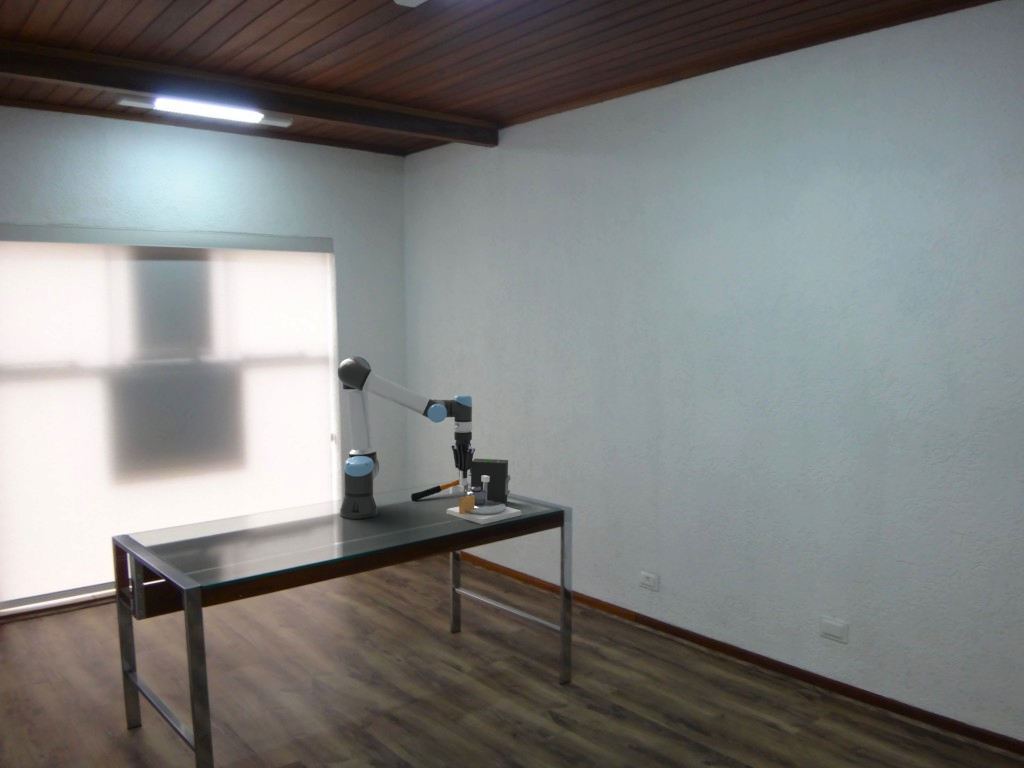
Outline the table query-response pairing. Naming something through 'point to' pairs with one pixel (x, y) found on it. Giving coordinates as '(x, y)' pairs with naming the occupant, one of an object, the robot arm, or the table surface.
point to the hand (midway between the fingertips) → (463, 485)
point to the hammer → (436, 490)
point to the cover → (477, 495)
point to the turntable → (479, 506)
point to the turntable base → (485, 518)
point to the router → (491, 478)
